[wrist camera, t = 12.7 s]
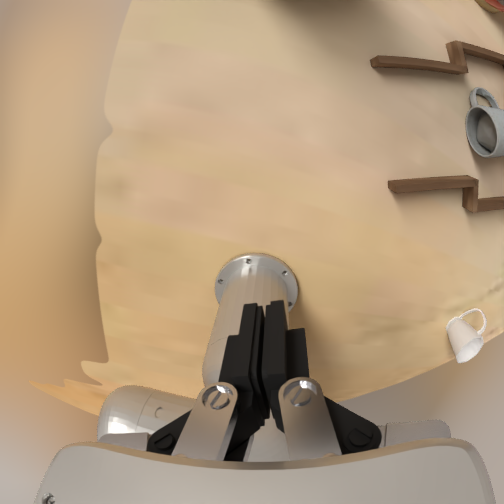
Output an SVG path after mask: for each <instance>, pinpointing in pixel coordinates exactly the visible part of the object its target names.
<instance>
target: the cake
mask: <svg viewBox="0 0 504 504" xmlns="http://www.w3.org/2000/svg"><path fill="white" fill-rule="evenodd" d="M475 1H476V2H477V3H478V4H479V5H480V6H481V7H483V8H484V9H485V10H487V11H489V12H491V13H497V12H500V11H502V12H504V0H475Z"/></svg>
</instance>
